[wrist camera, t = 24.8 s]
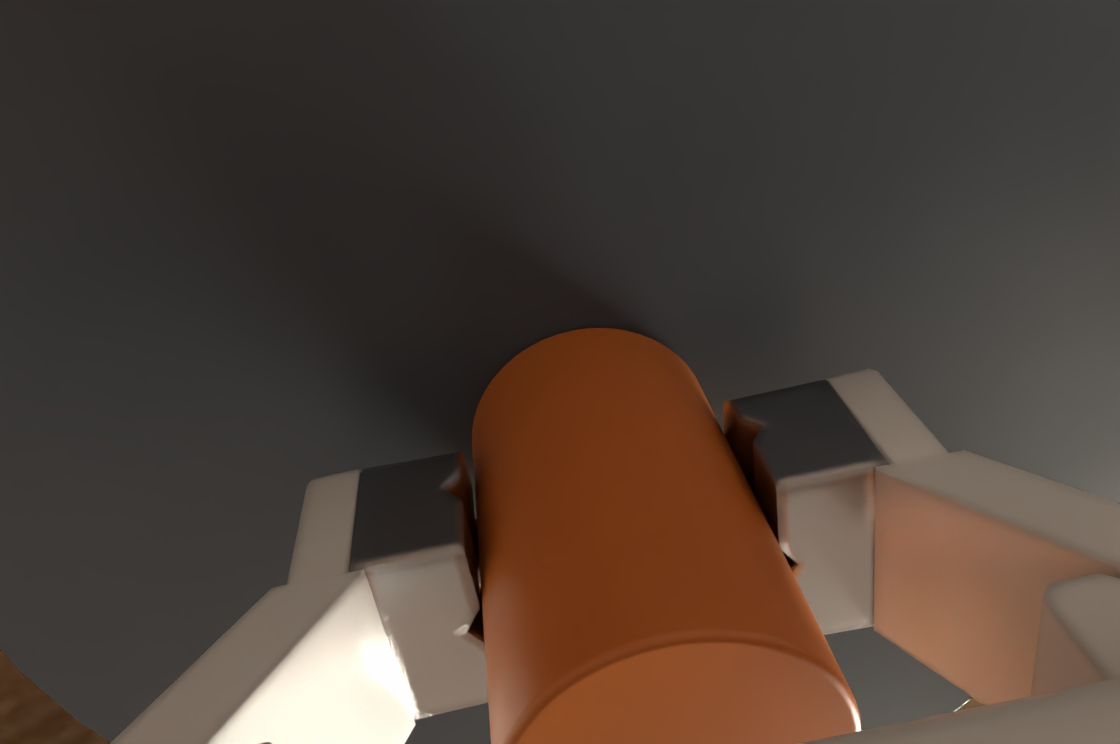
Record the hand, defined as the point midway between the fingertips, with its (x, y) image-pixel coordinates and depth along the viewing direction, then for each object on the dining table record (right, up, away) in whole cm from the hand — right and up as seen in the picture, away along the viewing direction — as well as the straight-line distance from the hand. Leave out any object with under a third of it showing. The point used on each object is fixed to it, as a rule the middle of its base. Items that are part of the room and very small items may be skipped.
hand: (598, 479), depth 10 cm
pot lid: (0, +1, +1) cm, 1 cm away
